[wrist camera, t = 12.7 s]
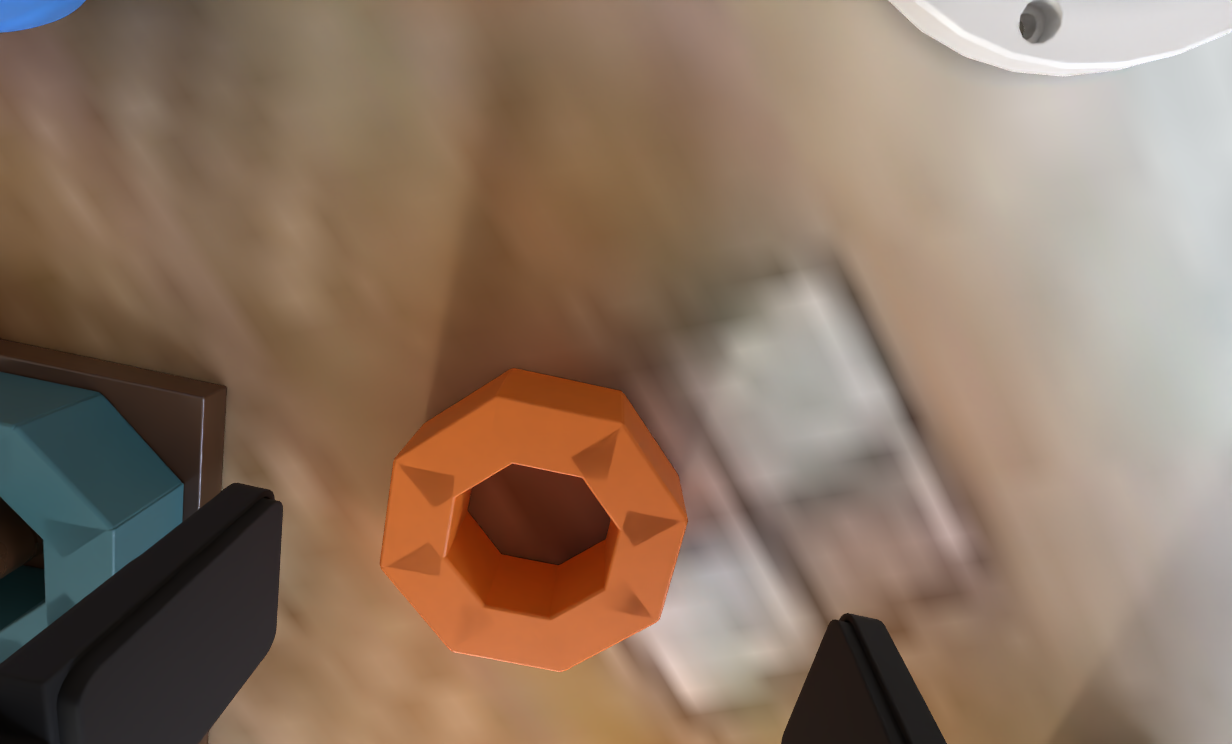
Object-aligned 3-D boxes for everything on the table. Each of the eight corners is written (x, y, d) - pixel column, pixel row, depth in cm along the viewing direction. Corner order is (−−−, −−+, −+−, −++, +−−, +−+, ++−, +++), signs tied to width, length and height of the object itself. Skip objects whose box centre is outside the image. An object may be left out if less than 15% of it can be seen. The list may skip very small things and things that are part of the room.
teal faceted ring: (-108, 347, 15) (-236, 375, 13) (187, 409, 16) (113, 445, 14) (-83, 592, 17) (-190, 653, 15) (179, 640, 18) (113, 708, 15)
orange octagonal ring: (433, 350, 16) (403, 375, 14) (699, 406, 17) (711, 441, 14) (400, 581, 18) (368, 637, 16) (638, 627, 19) (641, 688, 16)
